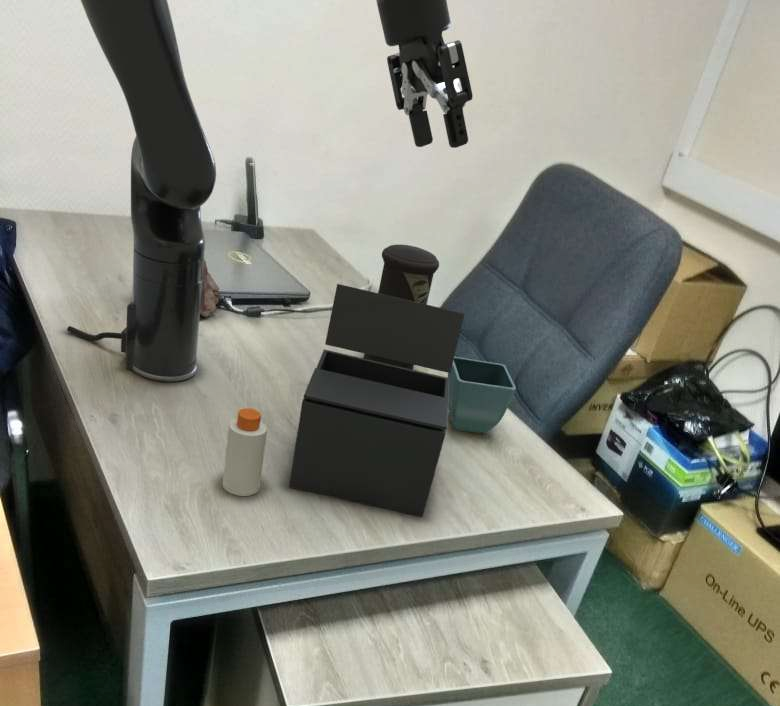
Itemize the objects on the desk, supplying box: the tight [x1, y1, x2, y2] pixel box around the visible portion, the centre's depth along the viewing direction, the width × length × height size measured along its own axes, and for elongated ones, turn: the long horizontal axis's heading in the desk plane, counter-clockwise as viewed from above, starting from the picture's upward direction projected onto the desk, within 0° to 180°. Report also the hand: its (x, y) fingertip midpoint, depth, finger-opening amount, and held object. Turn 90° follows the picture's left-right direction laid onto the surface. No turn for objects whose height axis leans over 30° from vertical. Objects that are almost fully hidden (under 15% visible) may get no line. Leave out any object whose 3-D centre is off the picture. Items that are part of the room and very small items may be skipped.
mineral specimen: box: [200, 259, 221, 318], centre depth 135 cm, size 12×13×15 cm
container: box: [363, 244, 440, 370], centre depth 129 cm, size 9×9×20 cm
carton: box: [288, 349, 449, 518], centre depth 103 cm, size 17×16×13 cm
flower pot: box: [446, 356, 517, 435], centre depth 121 cm, size 9×9×9 cm
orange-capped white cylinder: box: [222, 407, 268, 497], centre depth 95 cm, size 4×4×10 cm
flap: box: [324, 283, 465, 374], centre depth 105 cm, size 17×8×1 cm
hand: (441, 145), depth 97 cm, fingers open, 8 cm apart
